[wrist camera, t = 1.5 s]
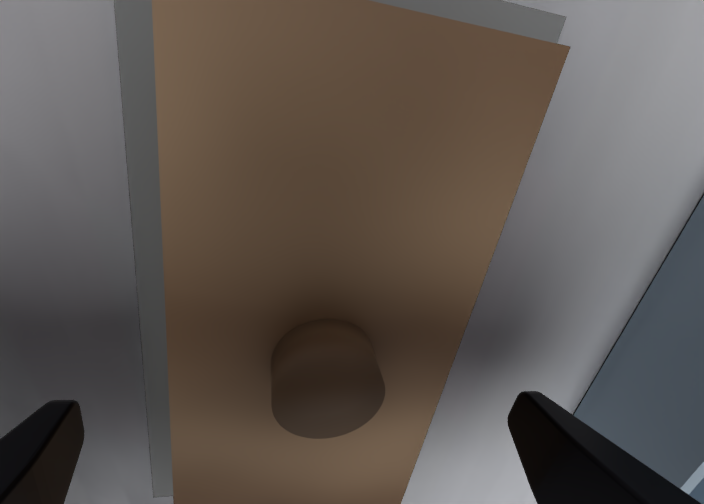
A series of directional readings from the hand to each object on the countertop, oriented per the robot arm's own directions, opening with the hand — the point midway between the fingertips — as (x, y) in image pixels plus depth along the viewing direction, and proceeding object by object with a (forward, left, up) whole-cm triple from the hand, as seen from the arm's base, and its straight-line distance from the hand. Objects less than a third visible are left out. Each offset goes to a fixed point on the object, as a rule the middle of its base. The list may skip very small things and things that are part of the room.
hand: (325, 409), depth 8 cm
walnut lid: (0, 0, -3) cm, 3 cm away
